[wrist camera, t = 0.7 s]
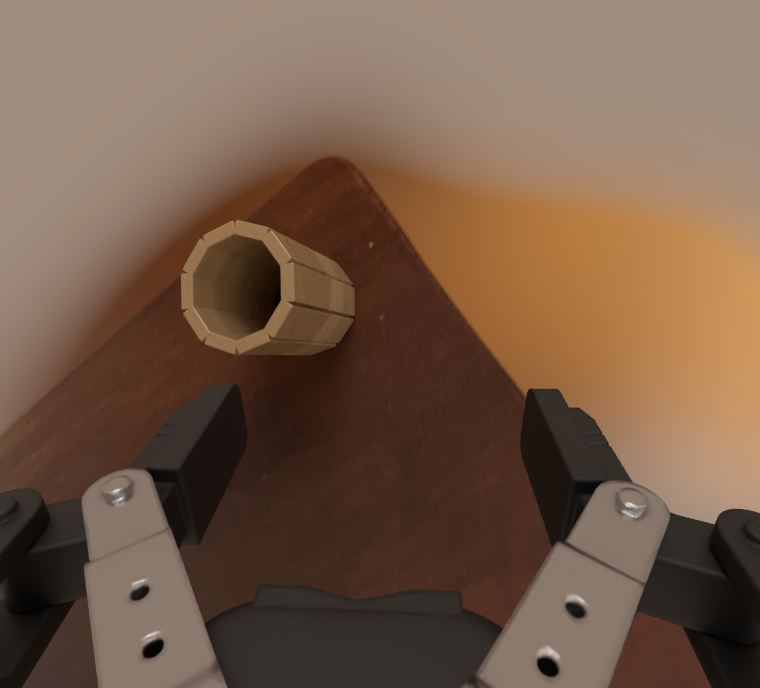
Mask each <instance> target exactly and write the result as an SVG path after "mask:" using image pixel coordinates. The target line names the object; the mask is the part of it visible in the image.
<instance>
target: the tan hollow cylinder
mask: <svg viewBox="0 0 760 688" xmlns="http://www.w3.org/2000/svg"><path fill="white" fill-rule="evenodd" d="M203 237H204V240H202V239H200V240H199V241H198V243H197V245H196V247H195V248H194V250H193V252H192V253H191V255H190V257H189V259H188V261H187V262H186V264H185V266H184V268H183V270H184V271H185V272H186V273H183V274H181V300H182V310H186V311H185V312H184V316H185V317H186V319H187V321H188V322H189V324H190V325H191V327H192V328H193V330H194V331H195V333H196V335H197V336H198V338H199V339H200V341H202V342H205V345H207V346H210V347H213V348H216V349H219V350H222V351H225V352H228V353H231V354H234V355H314V354H317V353H319V352H322V351H324V350H327V349H330V348H332V347H335V346H336V343H340V341H341V340H342V338H343V336H344V335H345V333H346V332H347V330H348V329H349V327H350V325H351V324H352V322H353V321H354V319H353V318H351V317H352V316H355V290H354V287H351V286H352V285H353V283H352V282H351V280H350V279H349V278H348V276H347V275H346V274H345V272H344V271H343V270H342V268H341V267H340V266H339V264H338V263H336V262H334V260H332V259H330V258H328V257H326V256H324V255H322V254H320V253H318V252H316V251H314V250H312V249H310V248H308V247H306V246H304V245H302V244H300V243H298V242H296V241H294V240H292V239H290V238H288V237H286V236H284V235H282V234H280V233H278V232H276V231H274V230H272V229H270V228H268V227H265V226H261V225H257V224H252V223H248V222H244V221H239V220H236V222H234V221H231V222H229V223H227V224H225V225H223V226H221V227H219V228H217V229H215V230H213V231H211V232H209V233H207V234H205V235H204V236H203ZM280 287H281V301H280V303H279V305H278V306H277V308H276V294H277V292H278V290H279V289H280Z"/></svg>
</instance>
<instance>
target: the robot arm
mask: <svg viewBox="0 0 760 688" xmlns="http://www.w3.org/2000/svg"><path fill="white" fill-rule="evenodd" d="M520 443H521V454H522V458H523V461H524V464H525V467H526V470H527V473H528V476H529V479H530V482H531V485H532V488H533V491H534V494H535V497H536V500H537V503H538V506H539V509H540V512H541V515H542V518H543V521H544V524H545V527H546V530H547V533H548V536H549V539H550V542H551V545H552V550H551V551H550V553H549V555H548V556H547V558H546V560H545V561H544V563H543V565H542V566H541V568H540V569H539V571H538V573H537V574H536V576H535V578H534V579H533V581H532V583H531V584H530V586H529V587H528V589H527V591H526V592H525V594H524V596H523V597H522V599H521V601H520V602H519V604H518V605H517V607H516V609H515V610H514V612H513V614H512V615H511V617H510V619H509V620H508V622H507V623H506V625H505V627H504V628H501V627H500V626H499V625H497V624H496V623H494V622H492V621H491V620H489V619H487V618H485V617H483V616H481V615H479V614H476V613H474V612H471V611H468V610H465V609H463V605H462V597H461V592H459V591H432V590H407V591H402V592H397V593H392V594H387V595H383V596H378V597H373V598H368V599H363V600H354V599H350V598H347V597H344V596H340V595H337V594H334V593H330V592H327V591H323V590H320V589H317V588H313V587H310V586H298V585H271V584H259V587H258V590H257V593H256V596H255V599H254V601H253V602H249V603H245V604H242V605H239V606H236V607H234V608H231V609H229V610H227V611H225V612H223V613H221V614H219V615H217V616H216V617H214V618H212V619H210V620H209V621H208V622H206V623H205V624H204V622H203V619H202V616H201V613H200V611H199V608H198V605H197V602H196V599H195V596H194V593H193V591H192V588H191V585H190V582H189V579H188V576H187V573H186V570H185V568H184V565H183V562H182V559H181V556H180V553H179V548H180V546H181V545H199V544H200V542H201V540H202V538H203V536H204V534H205V532H206V530H207V528H208V526H209V524H210V522H211V519H212V517H213V515H214V513H215V511H216V509H217V507H218V505H219V503H220V501H221V499H222V497H223V495H224V493H225V491H226V488H227V486H228V484H229V482H230V480H231V478H232V476H233V474H234V472H235V470H236V468H237V466H238V464H239V462H240V459H241V457H242V455H243V453H244V451H245V448H246V444H247V426H246V420H245V415H244V409H243V403H242V397H241V392H240V388H239V386H238V385H237V384H208V385H207V387H206V388H205V389H204V391H203V392H202V393H201V395H200V396H199V397H198V399H197V400H196V401H189V402H187V403H186V404H184V405H183V406H181V407H180V408H178V409H177V410H175V411H174V412H173V413H172V415H171V416H170V417H169V418H168V420H167V421H166V422H165V425H164V426H162V427H161V429H160V430H159V431H158V432H157V436H154V437H153V439H152V440H151V441H150V443H149V444H148V445H147V446H146V448H145V449H144V450H143V451H142V453H141V454H140V455H139V457H138V458H137V459H136V460H135V462H134V463H133V464H132V465H131V467H130V468H129V469H124V470H120V471H116V472H113V473H111V474H108V475H106V476H104V477H102V478H101V479H99V480H98V481H96V482H95V483H94V484H92V485H91V486H90V487H89V488H88V489H87V491H86V492H85V493H84V495H83V498H78V499H73V500H68V501H63V502H58V503H53V504H49V505H45V503H44V500H43V498H42V496H41V494H40V493H39V492H38V491H36V490H34V489H27V488H23V489H15V490H11V491H7V492H4V493H1V494H0V688H22V686H23V685H24V683H25V681H26V680H27V678H28V677H29V675H30V673H31V672H32V670H33V668H34V667H35V665H36V664H37V662H38V660H39V659H40V657H41V656H42V654H43V652H44V651H45V649H46V647H47V646H48V644H49V643H50V641H51V639H52V638H53V636H54V635H55V633H56V631H57V630H58V628H59V626H60V625H61V623H62V622H63V620H64V618H65V617H66V615H67V613H68V612H69V610H70V609H71V607H72V605H73V604H74V602H75V601H76V599H80V598H84V597H87V598H88V606H89V614H90V622H91V630H92V638H93V646H94V654H95V662H96V670H97V678H98V686H99V688H609V687H610V684H611V681H612V679H613V676H614V673H615V670H616V668H617V665H618V662H619V660H620V657H621V654H622V651H623V649H624V646H625V643H626V640H627V638H628V635H629V632H630V629H631V627H632V624H633V621H634V619H635V616H636V613H637V611H638V612H641V613H644V614H647V615H650V616H653V617H656V618H659V619H662V620H665V621H668V622H672V623H675V624H678V625H681V626H683V628H684V630H685V632H686V634H687V636H688V639H689V641H690V643H691V645H692V647H693V649H694V651H695V653H696V655H697V657H698V660H699V662H700V664H701V666H702V668H703V670H704V672H705V674H706V676H707V679H708V681H709V683H710V685H711V687H712V688H760V513H757V512H754V511H750V510H744V509H729V510H726V511H723V512H722V513H721V514H720V515H719V516H718V518H717V521H716V523H715V525H714V524H710V523H707V522H703V521H699V520H695V519H691V518H686V517H683V516H679V515H676V514H673V513H670V512H669V510H668V507H667V506H666V504H665V503H664V502H663V501H662V499H661V498H659V496H657V495H656V494H655V493H653V492H652V491H650V490H649V489H647V488H645V487H643V486H641V485H638V484H635V483H633V482H632V480H631V479H630V477H629V476H628V474H627V472H626V471H625V469H624V467H623V466H622V464H621V462H620V461H619V459H618V458H617V456H616V454H615V453H614V451H613V450H612V448H611V446H609V444H608V441H607V440H606V438H605V436H604V435H602V432H601V430H600V428H599V427H598V425H597V423H596V422H595V420H594V419H593V418H591V417H590V416H589V415H588V414H586V413H585V412H584V411H583V410H581V409H580V408H569V407H568V405H567V403H566V401H565V400H564V398H563V396H562V394H561V392H560V391H559V390H558V389H529V390H528V392H527V396H526V403H525V410H524V416H523V423H522V430H521V441H520Z"/></svg>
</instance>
